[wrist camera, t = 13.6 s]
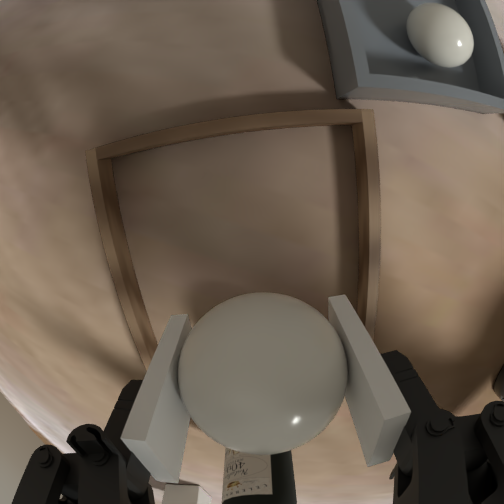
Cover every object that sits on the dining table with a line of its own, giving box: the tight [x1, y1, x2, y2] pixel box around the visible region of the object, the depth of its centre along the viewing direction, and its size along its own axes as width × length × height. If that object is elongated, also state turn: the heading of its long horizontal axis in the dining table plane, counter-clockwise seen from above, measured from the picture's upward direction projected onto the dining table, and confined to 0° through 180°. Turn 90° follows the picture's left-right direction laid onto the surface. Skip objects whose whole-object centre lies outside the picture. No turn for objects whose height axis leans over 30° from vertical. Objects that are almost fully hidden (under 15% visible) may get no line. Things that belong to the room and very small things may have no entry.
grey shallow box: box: [317, 0, 504, 114], centre depth 14 cm, size 17×17×5 cm
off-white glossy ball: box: [406, 3, 474, 68], centre depth 14 cm, size 6×6×6 cm
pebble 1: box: [178, 292, 348, 455], centre depth 10 cm, size 6×6×6 cm
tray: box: [85, 109, 381, 370], centre depth 23 cm, size 24×22×2 cm
